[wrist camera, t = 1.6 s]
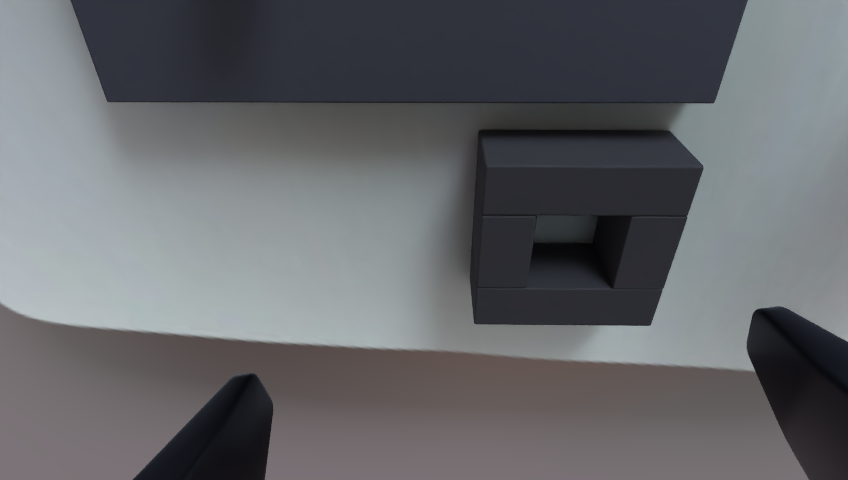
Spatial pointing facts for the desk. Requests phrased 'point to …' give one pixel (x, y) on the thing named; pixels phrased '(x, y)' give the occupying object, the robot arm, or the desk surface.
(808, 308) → the desk surface
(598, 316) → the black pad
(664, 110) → the desk surface
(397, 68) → the base pad
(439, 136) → the desk surface
